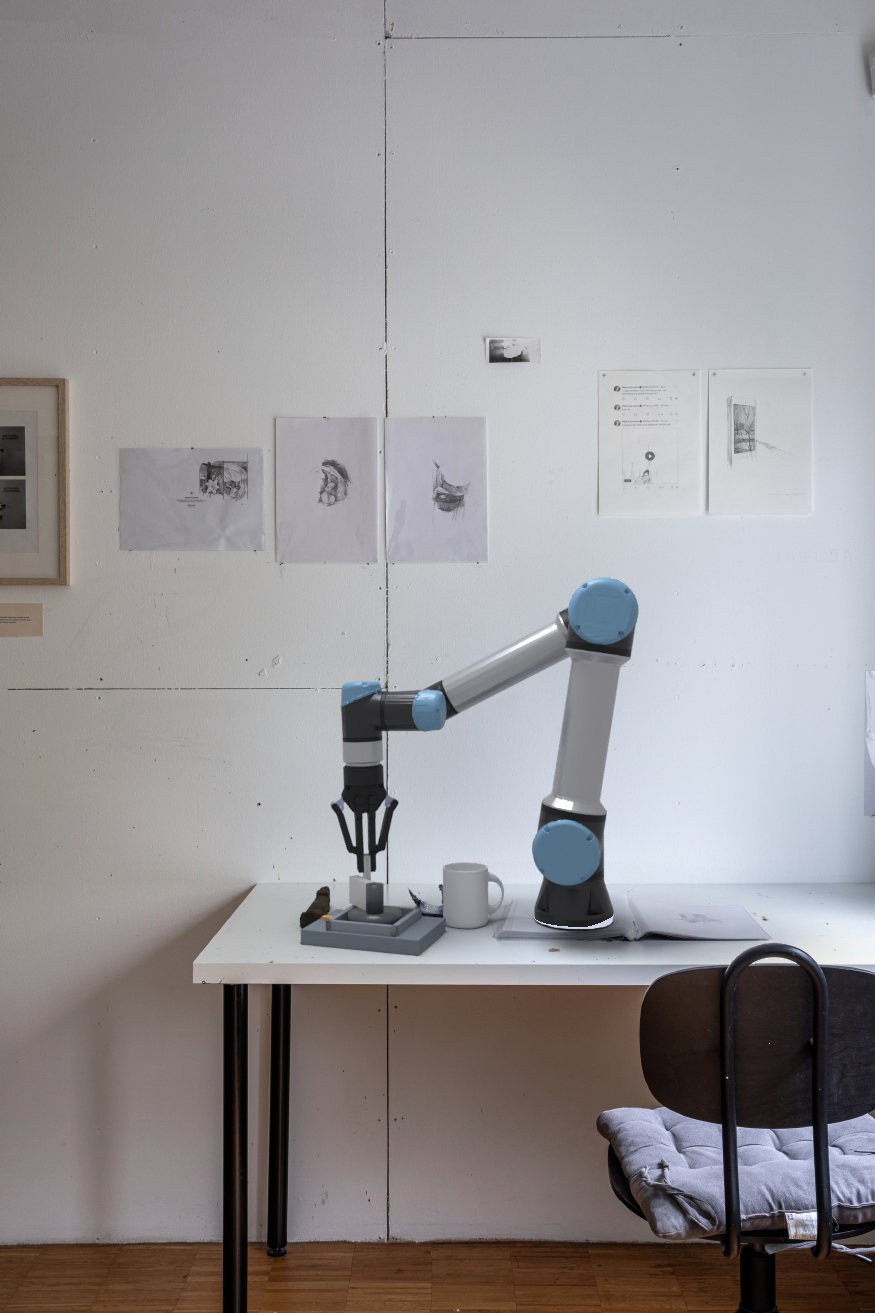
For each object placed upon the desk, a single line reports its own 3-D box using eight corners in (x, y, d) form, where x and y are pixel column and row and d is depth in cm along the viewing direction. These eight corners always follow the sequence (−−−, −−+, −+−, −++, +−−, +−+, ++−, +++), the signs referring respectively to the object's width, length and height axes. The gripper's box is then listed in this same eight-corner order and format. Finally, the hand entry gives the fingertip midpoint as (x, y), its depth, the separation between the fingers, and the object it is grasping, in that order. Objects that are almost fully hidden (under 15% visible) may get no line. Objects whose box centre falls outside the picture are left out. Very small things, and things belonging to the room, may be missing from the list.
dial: (411, 924, 167) (411, 886, 167) (363, 932, 162) (363, 893, 162) (376, 908, 178) (376, 872, 178) (330, 915, 173) (330, 878, 173)
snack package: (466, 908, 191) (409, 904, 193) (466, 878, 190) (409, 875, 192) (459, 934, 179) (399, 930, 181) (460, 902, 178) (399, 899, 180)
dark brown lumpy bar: (320, 933, 173) (320, 907, 173) (299, 932, 173) (299, 907, 173) (340, 907, 192) (340, 884, 192) (321, 906, 192) (321, 884, 192)
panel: (445, 932, 172) (445, 909, 172) (418, 955, 158) (418, 930, 158) (336, 922, 179) (336, 900, 179) (300, 944, 165) (300, 920, 165)
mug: (511, 926, 176) (511, 869, 176) (449, 931, 173) (449, 873, 173) (497, 914, 184) (496, 860, 184) (438, 919, 181) (438, 863, 181)
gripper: (393, 759, 180) (397, 882, 180) (327, 763, 178) (331, 887, 177) (399, 763, 173) (404, 891, 173) (331, 767, 170) (335, 897, 170)
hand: (367, 889), depth 175 cm, fingers closed
